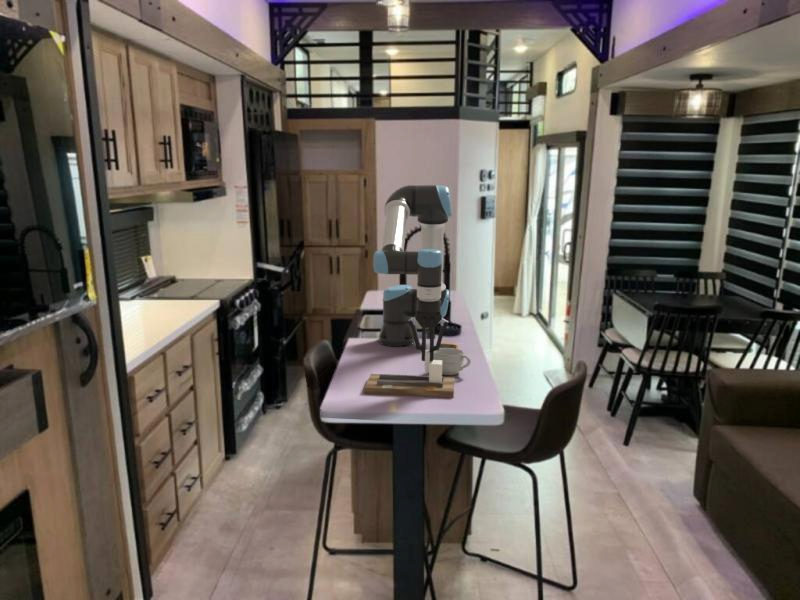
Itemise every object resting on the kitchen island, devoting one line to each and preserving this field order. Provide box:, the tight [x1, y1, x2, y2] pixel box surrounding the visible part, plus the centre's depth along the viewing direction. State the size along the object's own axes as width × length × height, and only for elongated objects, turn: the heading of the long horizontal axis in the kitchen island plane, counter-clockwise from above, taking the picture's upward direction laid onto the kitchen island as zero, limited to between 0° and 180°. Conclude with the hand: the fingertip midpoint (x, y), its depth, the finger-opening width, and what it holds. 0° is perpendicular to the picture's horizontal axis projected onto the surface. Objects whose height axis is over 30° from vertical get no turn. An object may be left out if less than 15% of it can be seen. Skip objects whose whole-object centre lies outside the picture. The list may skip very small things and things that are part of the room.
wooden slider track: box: [364, 373, 455, 398], centre depth 190 cm, size 13×28×3 cm, turn 84°
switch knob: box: [428, 360, 443, 383], centre depth 189 cm, size 4×4×7 cm
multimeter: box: [440, 342, 459, 349], centre depth 223 cm, size 9×18×3 cm, turn 166°
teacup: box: [433, 348, 472, 376], centre depth 204 cm, size 14×11×8 cm
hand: (427, 370), depth 189 cm, fingers closed
